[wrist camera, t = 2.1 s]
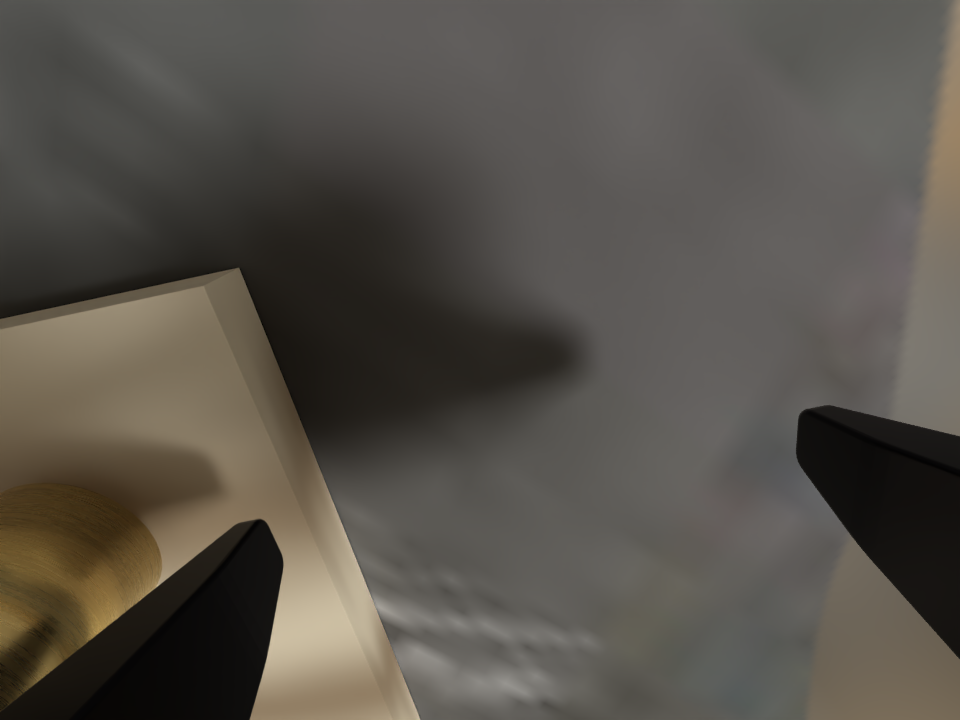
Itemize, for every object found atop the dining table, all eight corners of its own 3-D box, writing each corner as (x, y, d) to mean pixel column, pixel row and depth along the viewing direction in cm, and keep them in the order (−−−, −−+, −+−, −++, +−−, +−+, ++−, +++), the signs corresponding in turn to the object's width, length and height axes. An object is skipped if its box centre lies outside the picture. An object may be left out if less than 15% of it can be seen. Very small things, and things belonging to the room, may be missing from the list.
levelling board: (456, 809, 17) (457, 875, 16) (-22, 898, 18) (-68, 971, 16) (238, 267, 10) (197, 289, 8) (-601, 448, 10) (-802, 503, 8)
